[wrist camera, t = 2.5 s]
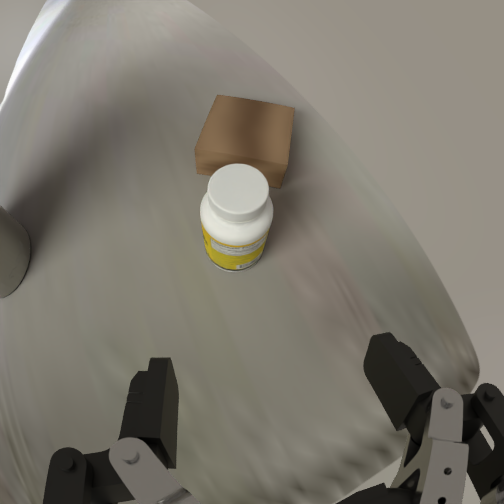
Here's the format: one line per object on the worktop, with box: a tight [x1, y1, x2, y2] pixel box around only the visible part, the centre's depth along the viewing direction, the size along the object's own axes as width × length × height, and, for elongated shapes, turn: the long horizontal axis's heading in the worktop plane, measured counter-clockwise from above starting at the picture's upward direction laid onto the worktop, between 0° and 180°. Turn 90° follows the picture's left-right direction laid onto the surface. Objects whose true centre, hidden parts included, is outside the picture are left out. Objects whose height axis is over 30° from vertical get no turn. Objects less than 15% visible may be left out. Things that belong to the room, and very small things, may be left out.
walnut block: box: [195, 95, 294, 188], centre depth 30 cm, size 9×9×4 cm
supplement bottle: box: [200, 164, 273, 272], centre depth 23 cm, size 5×5×10 cm
